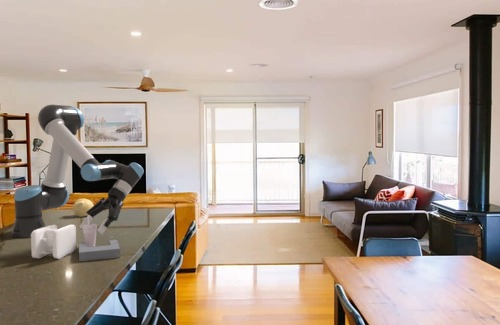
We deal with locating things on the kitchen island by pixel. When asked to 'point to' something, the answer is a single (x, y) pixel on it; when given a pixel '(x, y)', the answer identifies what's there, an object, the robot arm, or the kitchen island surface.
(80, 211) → the pale yellow round lump
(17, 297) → the kitchen island surface
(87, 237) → the smoothie
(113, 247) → the notched board
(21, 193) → the robot arm
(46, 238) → the cable organizer
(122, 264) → the kitchen island surface
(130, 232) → the kitchen island surface
